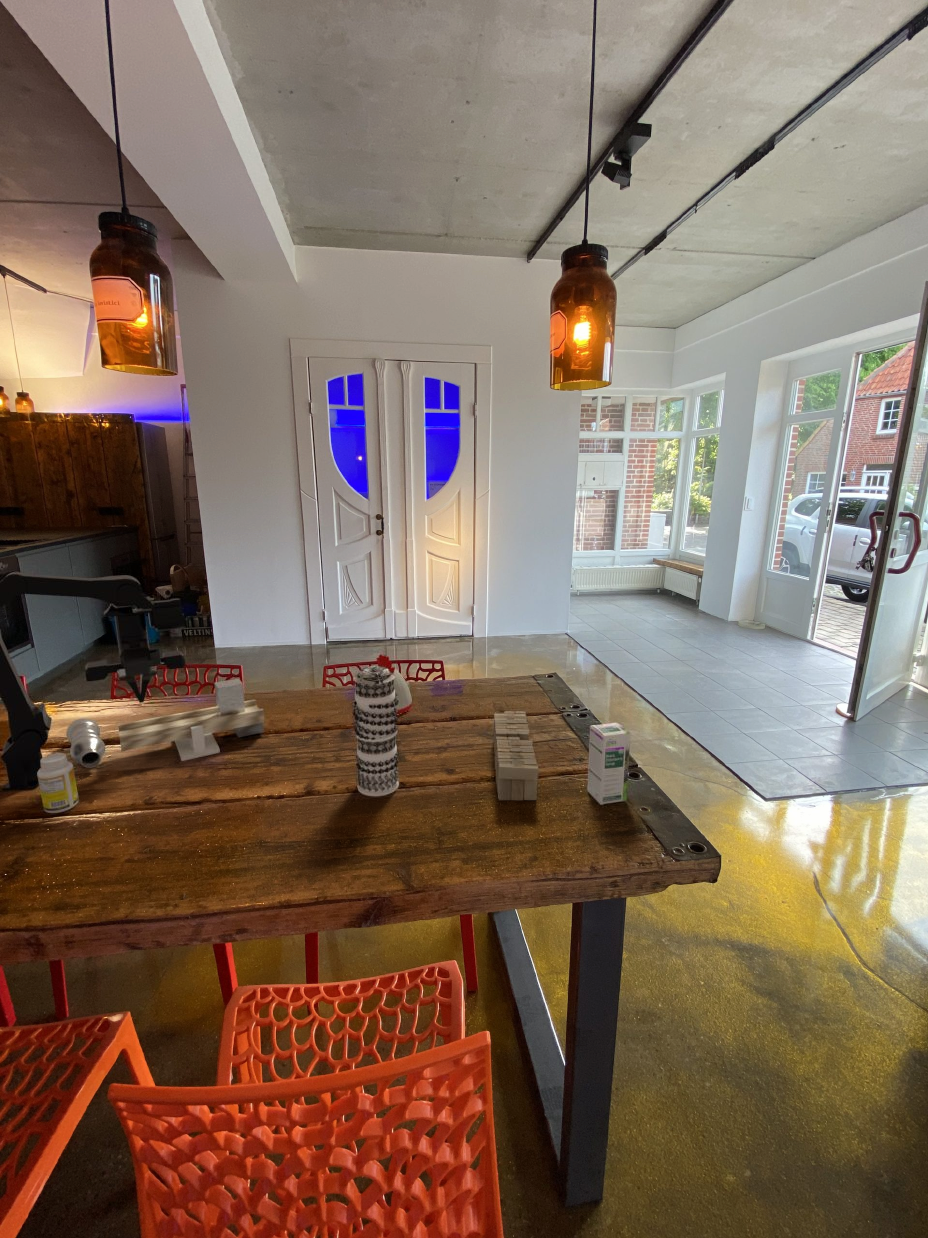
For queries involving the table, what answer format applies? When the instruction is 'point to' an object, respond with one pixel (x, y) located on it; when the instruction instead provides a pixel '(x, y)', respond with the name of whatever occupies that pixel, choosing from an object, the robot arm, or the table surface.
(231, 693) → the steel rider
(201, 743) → the beam stand
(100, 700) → the table surface
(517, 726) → the block tower
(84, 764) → the silver metal bottle
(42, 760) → the supplement bottle
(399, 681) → the kitchen timer
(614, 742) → the syrup box
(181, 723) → the balance beam
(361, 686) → the white patterned cylinder
